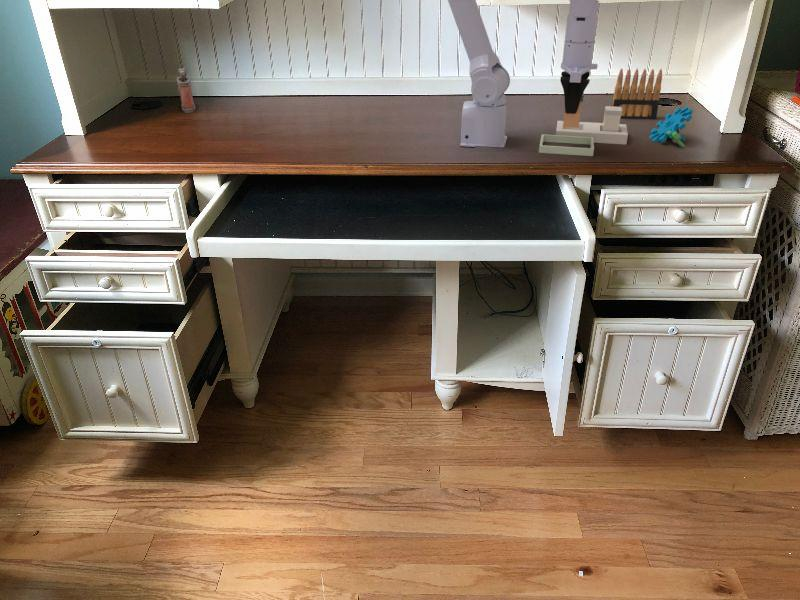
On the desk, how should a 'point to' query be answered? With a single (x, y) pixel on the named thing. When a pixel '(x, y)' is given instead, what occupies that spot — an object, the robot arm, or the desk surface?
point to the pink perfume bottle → (185, 91)
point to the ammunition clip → (638, 95)
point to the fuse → (612, 118)
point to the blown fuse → (573, 117)
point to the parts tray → (567, 149)
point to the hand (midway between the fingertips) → (571, 110)
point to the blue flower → (672, 126)
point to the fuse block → (594, 132)
